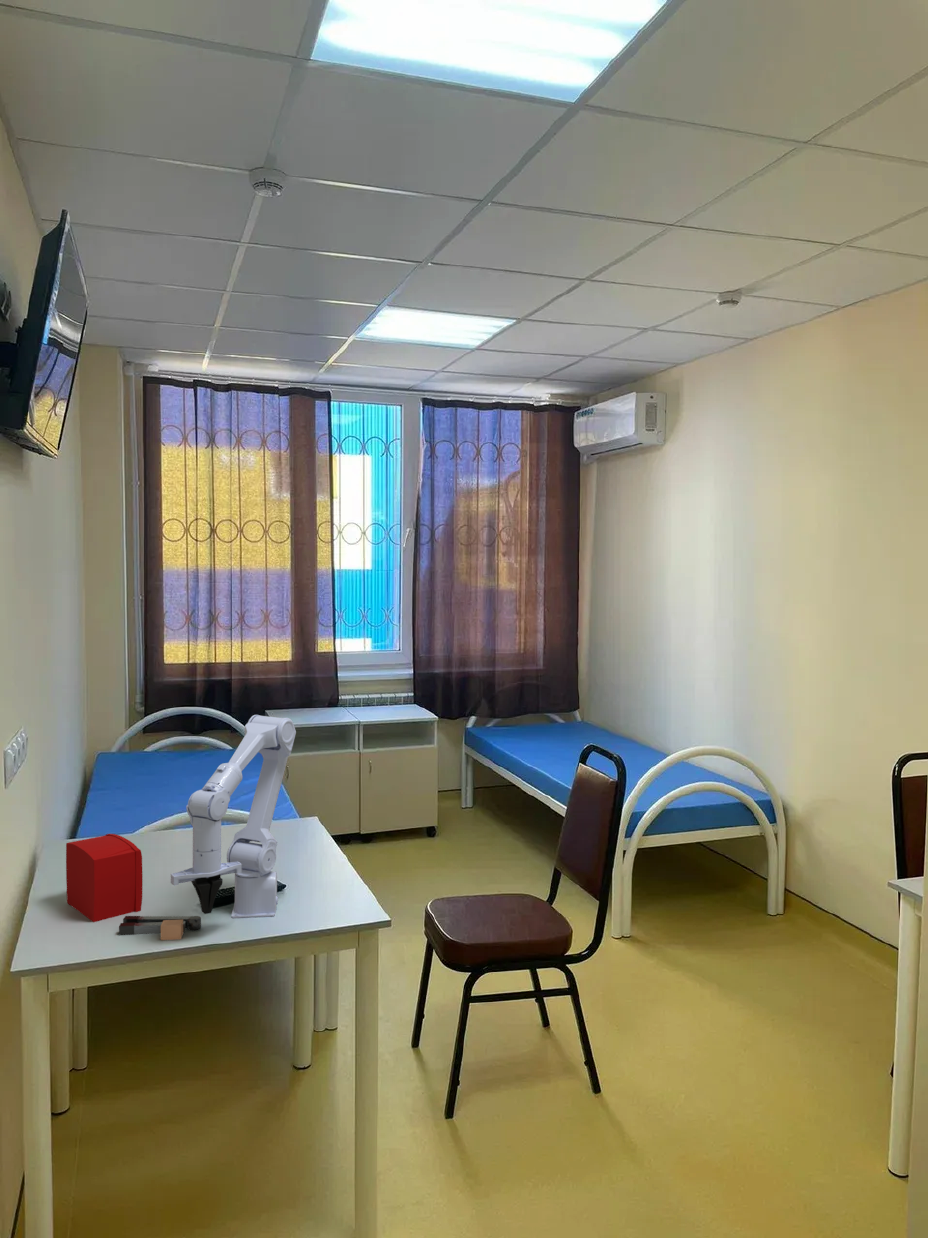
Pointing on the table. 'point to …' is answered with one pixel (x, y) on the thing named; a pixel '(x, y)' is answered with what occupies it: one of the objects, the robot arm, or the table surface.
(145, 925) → the tongs handle
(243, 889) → the robot arm
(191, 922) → the tongs arm
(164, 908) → the table surface
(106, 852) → the red curved-top box
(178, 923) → the block
